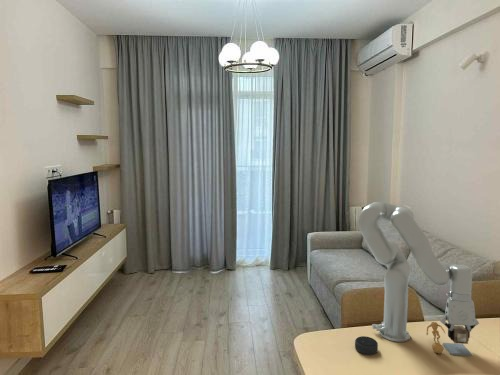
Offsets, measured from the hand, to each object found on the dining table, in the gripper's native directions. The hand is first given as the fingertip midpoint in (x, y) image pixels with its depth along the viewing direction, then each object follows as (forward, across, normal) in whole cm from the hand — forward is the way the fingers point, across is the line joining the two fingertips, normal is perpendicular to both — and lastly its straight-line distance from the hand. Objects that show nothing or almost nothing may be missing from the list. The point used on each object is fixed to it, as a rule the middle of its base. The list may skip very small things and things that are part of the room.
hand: (458, 338), depth 151 cm
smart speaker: (+5, -37, -4) cm, 38 cm away
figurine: (+5, -9, -2) cm, 11 cm away
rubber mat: (+5, 0, 0) cm, 5 cm away
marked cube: (+1, 0, 0) cm, 1 cm away
